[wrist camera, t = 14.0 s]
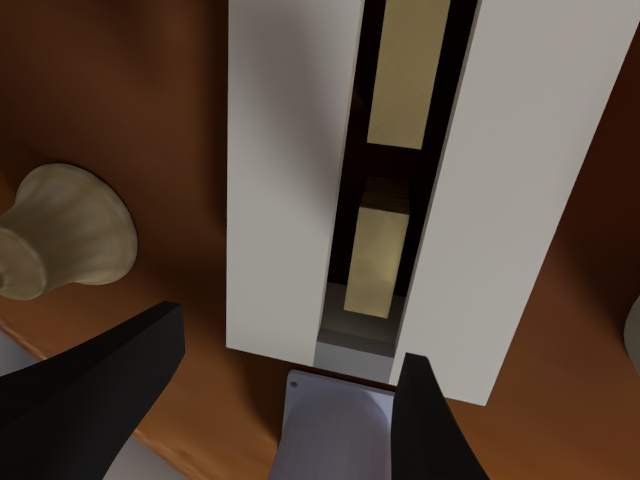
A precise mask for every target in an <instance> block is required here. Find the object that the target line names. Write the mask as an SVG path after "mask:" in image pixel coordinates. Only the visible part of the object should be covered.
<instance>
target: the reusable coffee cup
mask: <svg viewBox="0 0 640 480" xmlns="http://www.w3.org/2000/svg"><path fill="white" fill-rule="evenodd" d="M624 341H625V347H626V350H627V352H628V355H629V357H630V359H631V361H632V363H633V365H634V367H635V369H636V371H637V373H638V375H639V376H640V296H639V297H638V298H637V300H636V301H635V303H634V304H633V305H632V307H631V310H630V312H629V314H628V316H627V319H626V323H625V328H624Z"/></svg>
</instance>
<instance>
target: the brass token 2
mask: <svg viewBox="0 0 640 480" xmlns="http://www.w3.org/2000/svg"><path fill="white" fill-rule="evenodd" d="M409 216H410V212H409V186H408V181H404V180H398V179H391V178H384V177H378V176H371V175H369V177H368V181H367V184H366V187H365V190H364V194H363V197H362V200H361V203H360V207H359V213H358V219H357V226H356V233H355V239H354V246H353V252H352V259H351V265H350V272H349V279H348V285H347V292H346V298H345V305H344V310H347V311H352V312H357V313H362V314H368V315H373V316H378V317H383V318H388V315H389V310H390V305H391V300H392V296H393V291H394V286H395V282H396V277H397V272H398V267H399V263H400V258H401V253H402V249H403V244H404V239H405V235H406V230H407V225H408V220H409Z"/></svg>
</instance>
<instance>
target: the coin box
mask: <svg viewBox="0 0 640 480" xmlns="http://www.w3.org/2000/svg"><path fill="white" fill-rule="evenodd" d="M364 2H365V0H229V38H228V170H227V303H226V347H228V348H232V349H237V350H241V351H245V352H250V353H254V354H259V355H263V356H267V357H272V358H276V359H280V360H285V361H289V362H294V363H298V364H302V365H307V366H311V367H316V368H320V369H324V370H329V371H333V372H338V373H342V374H346V375H351V376H355V377H359V378H364V379H368V380H373V381H377V382H381V383H386V384H390V385H395V386H397V384H398V380H399V376H400V372H401V369H402V365H403V361H404V357H405V353H406V352H408V353H413V354H417V355H422V356H426V357H427V358H428V359H429V361H430V364H431V367H432V369H433V372H434V375H435V377H436V379H437V382H438V384H439V387H440V389H441V391H442V393H443V396H444V397H447V398H452V399H456V400H460V401H465V402H469V403H474V404H478V405H482V406H485V405H486V403H487V400H488V398H489V395H490V393H491V390H492V388H493V385H494V383H495V380H496V378H497V375H498V373H499V370H500V368H501V365H502V363H503V360H504V358H505V355H506V353H507V350H508V348H509V345H510V343H511V340H512V338H513V336H514V333H515V331H516V328H517V326H518V323H519V321H520V318H521V316H522V313H523V311H524V308H525V306H526V303H527V301H528V298H529V296H530V293H531V291H532V288H533V286H534V283H535V281H536V278H537V276H538V273H539V271H540V268H541V266H542V263H543V261H544V258H545V256H546V253H547V251H548V248H549V246H550V243H551V241H552V238H553V236H554V233H555V231H556V228H557V226H558V223H559V221H560V218H561V216H562V213H563V211H564V208H565V206H566V203H567V201H568V198H569V196H570V193H571V191H572V188H573V186H574V183H575V181H576V178H577V176H578V173H579V171H580V168H581V166H582V163H583V161H584V158H585V156H586V153H587V151H588V148H589V146H590V143H591V141H592V138H593V136H594V133H595V131H596V128H597V126H598V123H599V121H600V118H601V116H602V113H603V111H604V109H605V106H606V104H607V101H608V99H609V96H610V94H611V91H612V89H613V86H614V84H615V81H616V79H617V76H618V74H619V71H620V69H621V66H622V64H623V61H624V59H625V56H626V54H627V51H628V49H629V46H630V44H631V41H632V39H633V36H634V34H635V31H636V29H637V26H638V24H639V21H640V0H478V2H477V6H476V10H475V15H474V19H473V23H472V27H471V31H470V35H469V39H468V44H467V48H466V52H465V56H464V60H463V64H462V68H461V73H460V77H459V81H458V85H457V89H456V93H455V97H454V102H453V106H452V110H451V114H450V118H449V122H448V126H447V131H446V135H445V139H444V143H443V147H442V151H441V155H440V160H439V164H438V168H437V172H436V176H435V180H434V184H433V189H432V193H431V197H430V201H429V205H428V209H427V213H426V218H425V222H424V226H423V230H422V234H421V238H420V242H419V247H418V251H417V255H416V259H415V263H414V267H413V271H412V276H411V280H410V284H409V288H408V292H407V296H406V297H402V296H397V295H393V296H392V300H391V305H390V310H389V315H388V318H383V317H378V316H373V315H368V314H362V313H357V312H352V311H347V310H344V305H345V298H346V292H347V286H346V285H341V284H336V283H331V282H327V276H328V269H329V261H330V254H331V246H332V239H333V232H334V224H335V217H336V209H337V202H338V195H339V187H340V180H341V172H342V165H343V158H344V150H345V143H346V135H347V128H348V121H349V113H350V106H351V98H352V91H353V84H354V76H355V69H356V61H357V54H358V47H359V39H360V32H361V24H362V17H363V10H364Z"/></svg>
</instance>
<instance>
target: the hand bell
mask: <svg viewBox="0 0 640 480" xmlns="http://www.w3.org/2000/svg"><path fill="white" fill-rule="evenodd" d="M137 246H138V240H137V233H136V229H135V226H134V223H133V220H132V218H131V215H130V213H129V211H128V210H127V208H126V206H125V205H124V203H123V202H122V200H121V199H120V198H119V196H118V195H117V194H116V193H115V192H114V191H113V190H112V189H111V188H110V187H109V186H108V185H107V184H106V183H104V182H103V181H101V180H100V179H99V178H97V177H96V176H94V175H93V174H92V173H90V172H88V171H86V170H84V169H81V168H78V167H75V166H73V165H69V164H60V163H56V164H46V165H43V166H40V167H38V168H36V169H34V170H33V171H31V172H30V173H29V174H28V175H27V176H26V177H25V179H24V180H23V181H22V183H21V184H20V186H19V188H18V190H17V194H16V199H15V204H14V206H13V207H12V208H10V209H9V210H8V211H7V212H5V213H4V214H3V215H1V216H0V294H1V295H3V296H5V297H7V298H11V299H15V300H30V299H34V298H36V297H38V296H40V295H42V294H44V293H46V292H48V291H50V290H52V289H55V288H57V287H59V286H62V285H65V284H68V283H72V282H78V283H82V284H88V285H101V284H108V283H111V282H114V281H117V280H119V279H121V278H122V277H123V276H125V275H126V274H127V273H128V272H129V271H130V269H131V268H132V266H133V264H134V262H135V259H136V256H137Z"/></svg>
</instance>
